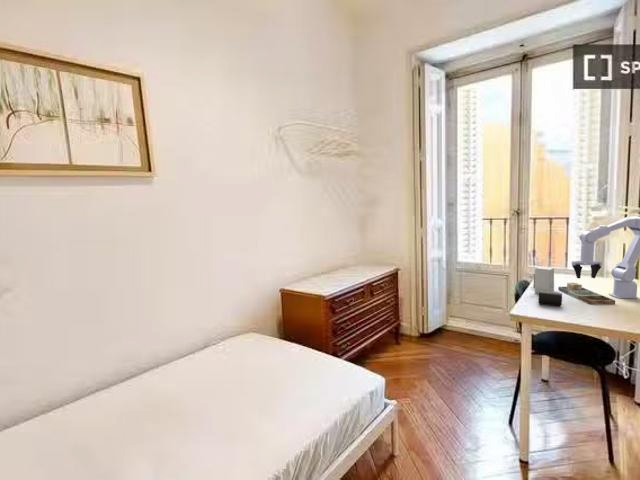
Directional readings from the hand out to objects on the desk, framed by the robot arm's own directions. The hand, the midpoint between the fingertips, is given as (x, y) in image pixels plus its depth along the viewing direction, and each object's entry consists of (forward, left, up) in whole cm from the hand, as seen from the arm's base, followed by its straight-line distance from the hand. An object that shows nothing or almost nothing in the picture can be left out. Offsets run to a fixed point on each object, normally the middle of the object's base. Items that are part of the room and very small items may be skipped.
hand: (585, 278), depth 200 cm
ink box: (+13, -18, -11) cm, 25 cm away
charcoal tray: (0, -10, -10) cm, 14 cm away
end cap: (+26, +15, -11) cm, 32 cm away
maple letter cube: (0, -10, -10) cm, 14 cm away
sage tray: (0, 0, -10) cm, 10 cm away
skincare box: (+18, -7, -11) cm, 22 cm away
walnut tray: (0, +10, -10) cm, 14 cm away
